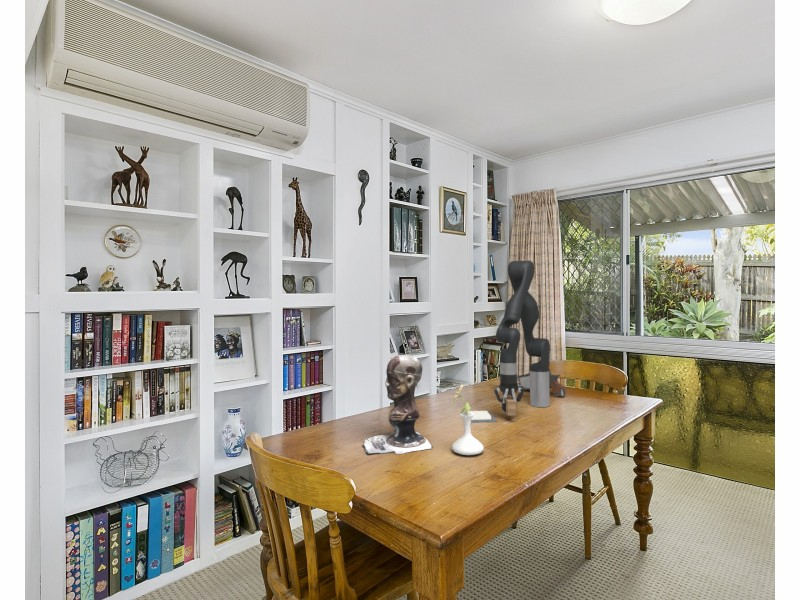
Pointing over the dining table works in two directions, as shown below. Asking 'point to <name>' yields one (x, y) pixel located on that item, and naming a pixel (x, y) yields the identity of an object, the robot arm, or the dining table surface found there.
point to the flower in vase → (466, 432)
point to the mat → (487, 420)
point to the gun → (553, 383)
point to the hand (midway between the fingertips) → (509, 410)
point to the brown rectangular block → (510, 406)
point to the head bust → (401, 409)
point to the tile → (480, 415)
